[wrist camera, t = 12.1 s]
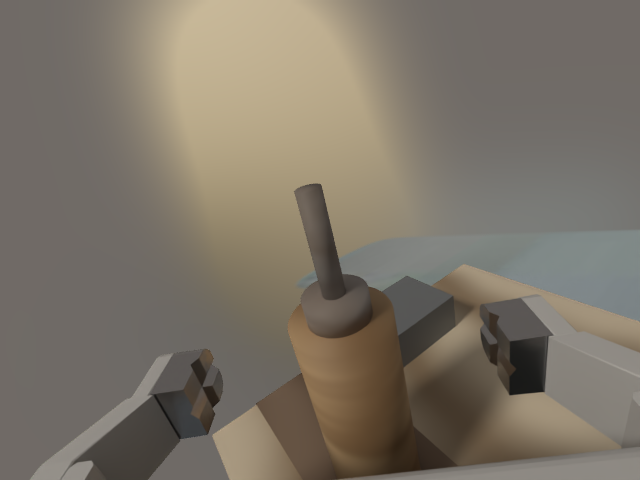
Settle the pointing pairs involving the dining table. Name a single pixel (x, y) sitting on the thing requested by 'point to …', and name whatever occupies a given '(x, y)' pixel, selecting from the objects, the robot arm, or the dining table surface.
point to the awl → (351, 359)
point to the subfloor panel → (436, 399)
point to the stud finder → (420, 315)
